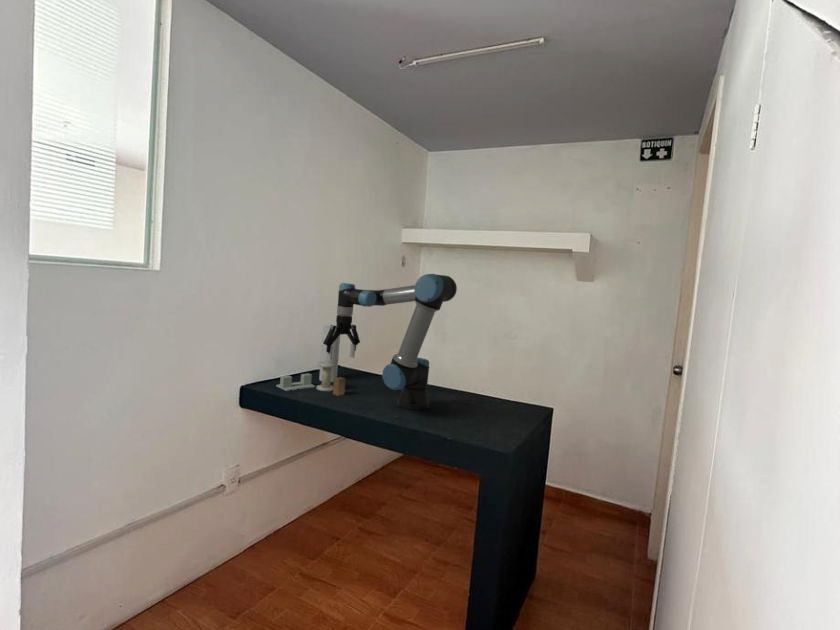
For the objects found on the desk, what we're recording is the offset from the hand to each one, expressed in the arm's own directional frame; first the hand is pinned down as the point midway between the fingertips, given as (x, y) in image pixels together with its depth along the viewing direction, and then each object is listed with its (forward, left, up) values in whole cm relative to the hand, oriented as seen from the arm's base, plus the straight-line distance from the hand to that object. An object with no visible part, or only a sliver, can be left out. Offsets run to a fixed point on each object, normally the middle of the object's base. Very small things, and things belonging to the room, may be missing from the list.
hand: (340, 358), depth 218 cm
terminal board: (+21, +11, -18) cm, 30 cm away
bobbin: (+11, 0, -18) cm, 21 cm away
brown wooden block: (0, 0, -18) cm, 18 cm away
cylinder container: (+26, -12, -18) cm, 34 cm away
